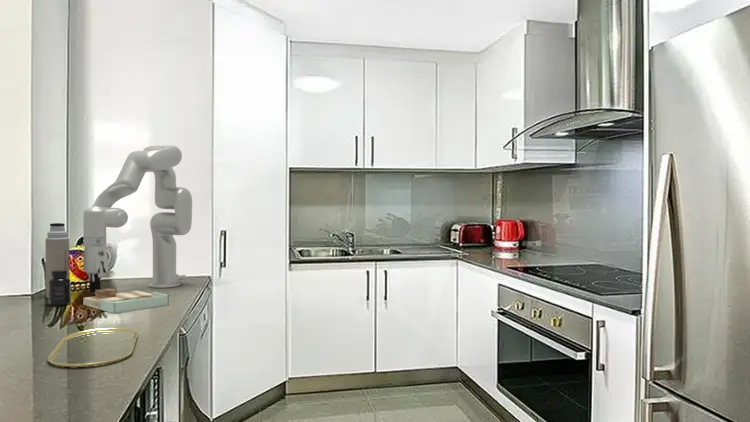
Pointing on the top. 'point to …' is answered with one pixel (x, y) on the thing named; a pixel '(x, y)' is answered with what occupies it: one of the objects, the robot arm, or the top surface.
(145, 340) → the top surface
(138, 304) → the tray
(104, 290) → the walnut tile
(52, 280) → the supplement bottle
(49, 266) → the thermos bottle
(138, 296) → the maple board
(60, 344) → the serving platter
